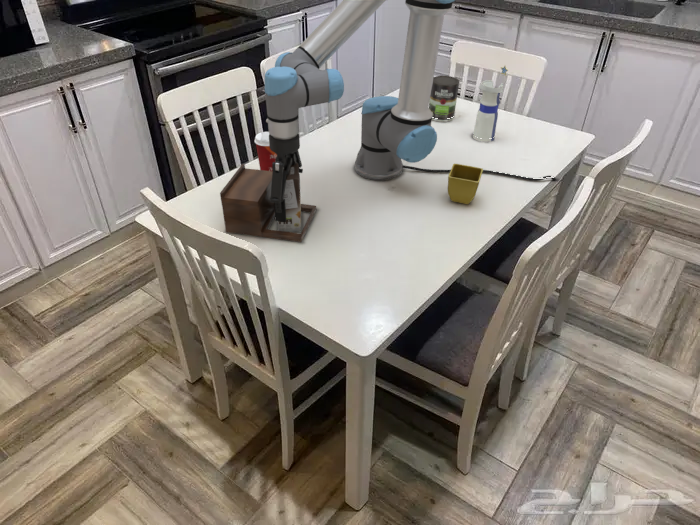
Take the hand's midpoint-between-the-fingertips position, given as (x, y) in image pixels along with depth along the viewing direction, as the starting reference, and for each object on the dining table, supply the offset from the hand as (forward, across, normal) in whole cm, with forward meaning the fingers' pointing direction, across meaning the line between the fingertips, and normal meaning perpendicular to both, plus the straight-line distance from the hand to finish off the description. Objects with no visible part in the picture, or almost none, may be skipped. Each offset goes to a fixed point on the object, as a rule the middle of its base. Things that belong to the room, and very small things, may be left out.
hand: (288, 207), depth 145 cm
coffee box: (+5, 0, 0) cm, 5 cm away
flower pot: (+5, -23, +46) cm, 52 cm away
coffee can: (+5, -83, +36) cm, 91 cm away
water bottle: (+5, -68, +52) cm, 86 cm away
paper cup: (+5, -23, -13) cm, 27 cm away
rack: (+5, 0, -5) cm, 7 cm away
